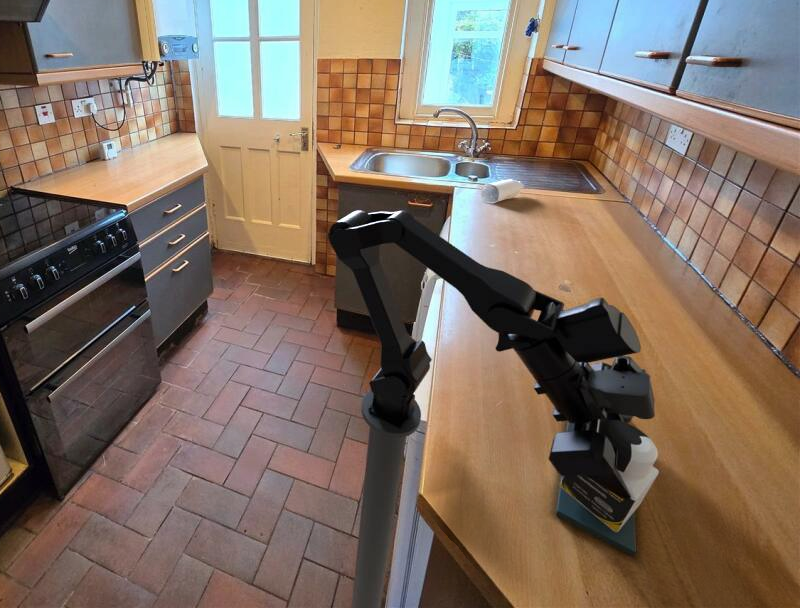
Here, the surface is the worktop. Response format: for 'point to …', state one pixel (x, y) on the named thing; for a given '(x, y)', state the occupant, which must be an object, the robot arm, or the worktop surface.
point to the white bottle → (501, 190)
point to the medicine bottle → (631, 465)
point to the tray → (595, 519)
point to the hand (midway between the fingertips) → (628, 471)
